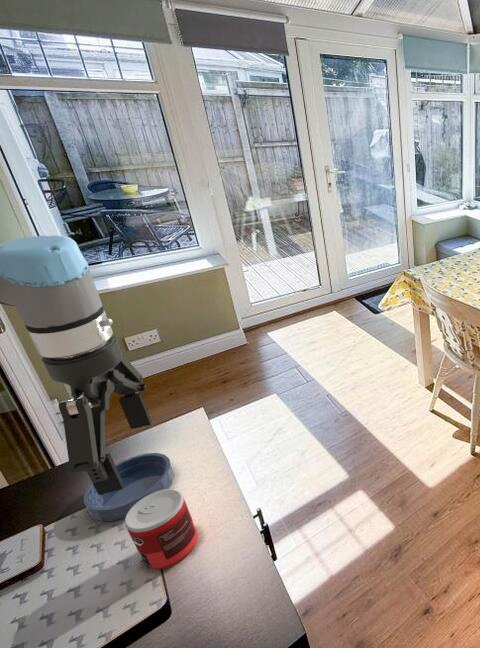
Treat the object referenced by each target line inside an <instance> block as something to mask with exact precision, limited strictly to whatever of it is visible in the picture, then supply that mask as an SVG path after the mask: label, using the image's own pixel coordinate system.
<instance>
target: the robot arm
mask: <svg viewBox="0 0 480 648" xmlns="http://www.w3.org/2000/svg"><path fill="white" fill-rule="evenodd" d="M0 305H5V306H9V307H10V306H11V307H15V309H16V311H17V312H18V315H19V317H20V319H21V320H22V322H23V324H24V326H25V329H26V330H27V332H28V334H29V336H30V339H31V341H32V343H33V345H34V347H35V349H36V352H37V354H38V355H39V356H41V357H42V358H41V361H42V362H43V365H44V367H45V369H46V371H47V373H48V375H49V377H50V379H51V380H53V381H54V382H56V383H60V384H64V385H68V386H69V388H70V394H71V395H70V396H71V398H70V399H68V400H63V401H60V402H59V403H58V410H59V413H60V415H61V417H62V420H63V429H64V435H65V442H66V451H67V458H68V466H69V472H70V474H71V475H74V474H79V473H82V472H83V473H84V472H86V473H87V475H88V476H89V479H90V481H91V483H93V485H94V487H95V489H96V491H97V493H98V494H99V495H102V494H106V493H110V492H114V491H118V490H121V489H123V487H124V483H123V481H122V479H121V476H120V474H119V472H118V470H117V468H116V466H115V464H116V463H115V461H114V459H113V458H112V457H113V456H112V455H111V453H106V412H107V411H109V409H110V397H111V394H112V393H114V394H117V395H120V397H119V398H118V402H119V405H120V406H121V409H122V411H123V414H124V416H125V418H126V421H127V423H128V426H129V427H130V430H135V429H138V428H143V427H147V426H151V425H152V423H153V421H152V418H151V416H150V413H149V411H148V409H147V408H148V407H147V406H146V404H145V401H144V398H143V396H142V393H141V392H145V391H146V390H147V385H146V383H142V382H143V381H144V377H143V375H142V373H140V372H139V371H138V369H136V368H135V367H134V365H132V363H131V362H130V361H129V360H128V359H127V357H125V355H124V353H123V351H122V349H121V348H120V345H119V343H118V340H117V338H116V336H114V335H113V334H114V332H113V329H112V325H113V324H114V322H113V321H114V320H112V319H111V318H108V316H107V313H106V310H105V309H104V306H103V303H102V300H101V297H100V295H99V292H98V289H97V287H96V283H95V281H94V278H93V276H92V273H91V271H90V267H89V262H88V260H86V258H85V257H84V256H83V254H82V252H81V249H80V248H79V245H78V244H77V242H76V241H75V240H74V239H73V238H70V237H69V236H66V235H65V236H64V235H57V234H53V235H35V236H26V237H22V238H18V239H14V240H10V241H7V242H3V243H0ZM92 406H93V407H92Z"/></svg>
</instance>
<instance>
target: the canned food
mask: <svg viewBox="0 0 480 648" xmlns="http://www.w3.org/2000/svg"><path fill="white" fill-rule="evenodd" d="M124 525H125V529H126V530H127V532H128V534H129V536H130V538H131V540H132V543H133V544H134V546H135V548H136V550H137V552H138V553H139V555H140V557H141V560H142V561H143V563H144V565H146V566H147V568H149V569H151V570H164V569H165V570H166V569H168V568H170V567H173V566H174V565H176V564H179V563H180V562H181V561H183V560H184V559H185V558H186V557H188V556H189V555H190V554H191V552H193V550H194V548H195V547H196V544H197V542H198V535H199V534H198V533H199V532H198V530H197V528H196V525H195V522H194V520H193V518H192V515H191V513H190V510H189V508H188V505H187V503H186V500H185V498H184V495H183V494H182V492H180V491H179V490H177V489H174V488H168V489H165V490H161V491H157V492H154V493H152V494H150V495H148V496H146V497H144V498H143V499H141V500H140V501H138V502H137V503H136V504H135V505H134V506H133V507H132V508H131V509H130V510H129V512H128V513H127V515H126V517H125V518H124Z"/></svg>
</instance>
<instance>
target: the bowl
mask: <svg viewBox="0 0 480 648" xmlns="http://www.w3.org/2000/svg"><path fill="white" fill-rule="evenodd" d="M114 464H115V466H116V468H117V470H118V472H119V474H120V476H121V479H122V481H123V483H124V487H123V489H121V490H118V491H114V492H110V493H106V494H102V495H99V494H98V493H97V491H96V489H95V487H94V485H93V483H92V482H91V483H90V484H89V485H88V486H87V488H86V490H85V492H84V494H83V505H84V507H85V508H86V511H87V512H88V514H89V515H90V516H91V518H92V519H94V520H96V521H100V522H112V521H113V522H114V521H119V520H122V519H125V517H126V515H127V513H128V512H129V510H130V509H131V508H132V507H133V506H134V505H135V504H136V503H137V502H138V501H140V500H141V499H143V498H144V497H146V496H148V495H150V494H152V493H154V492H157V491H161V490H165V489H170V487H171V485H172V484H173V482H174V479H175V470H174V466H173V465H172V461H171V459H170V458H169V457H168V456H167V455H166V454H163V453H159V452H147V453H146V452H145V453H142V454H137V455H133V456H131V457H128V458H126V459H124V460H121V461H118V462H117V463H114Z"/></svg>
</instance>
